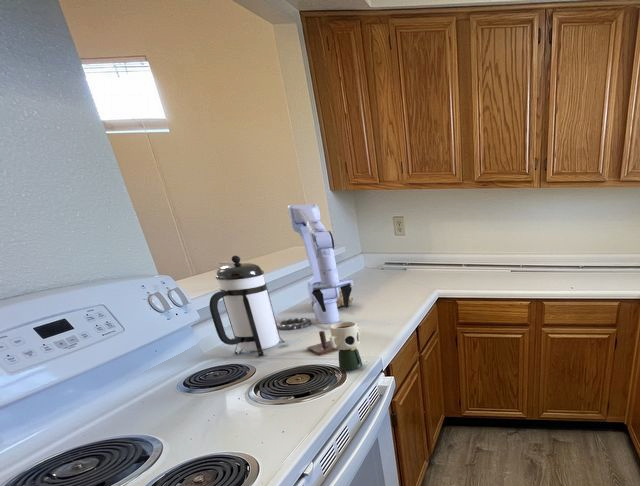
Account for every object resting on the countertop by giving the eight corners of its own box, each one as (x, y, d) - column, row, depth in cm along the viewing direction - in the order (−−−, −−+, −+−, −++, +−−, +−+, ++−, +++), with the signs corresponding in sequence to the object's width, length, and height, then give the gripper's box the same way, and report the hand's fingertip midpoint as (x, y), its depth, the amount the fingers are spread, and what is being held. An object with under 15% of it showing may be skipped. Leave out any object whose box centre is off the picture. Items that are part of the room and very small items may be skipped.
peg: (307, 350, 135) (303, 332, 132) (330, 343, 140) (327, 326, 138) (319, 355, 130) (315, 337, 127) (342, 348, 135) (339, 330, 133)
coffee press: (234, 346, 139) (206, 255, 127) (287, 339, 145) (264, 250, 133) (226, 364, 125) (193, 262, 113) (285, 355, 130) (259, 257, 118)
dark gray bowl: (272, 329, 156) (270, 322, 155) (303, 322, 164) (302, 315, 163) (286, 335, 149) (284, 328, 148) (318, 327, 157) (316, 320, 156)
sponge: (339, 305, 193) (299, 306, 176) (341, 289, 190) (301, 288, 173) (358, 314, 187) (318, 316, 170) (360, 297, 184) (320, 297, 168)
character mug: (348, 377, 114) (339, 332, 108) (328, 373, 116) (318, 329, 111) (373, 363, 123) (366, 320, 117) (354, 360, 125) (346, 318, 120)
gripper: (308, 274, 132) (317, 315, 137) (353, 268, 140) (360, 307, 145) (302, 271, 137) (311, 311, 143) (346, 265, 145) (353, 303, 150)
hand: (335, 309), depth 144 cm, fingers open, 7 cm apart
